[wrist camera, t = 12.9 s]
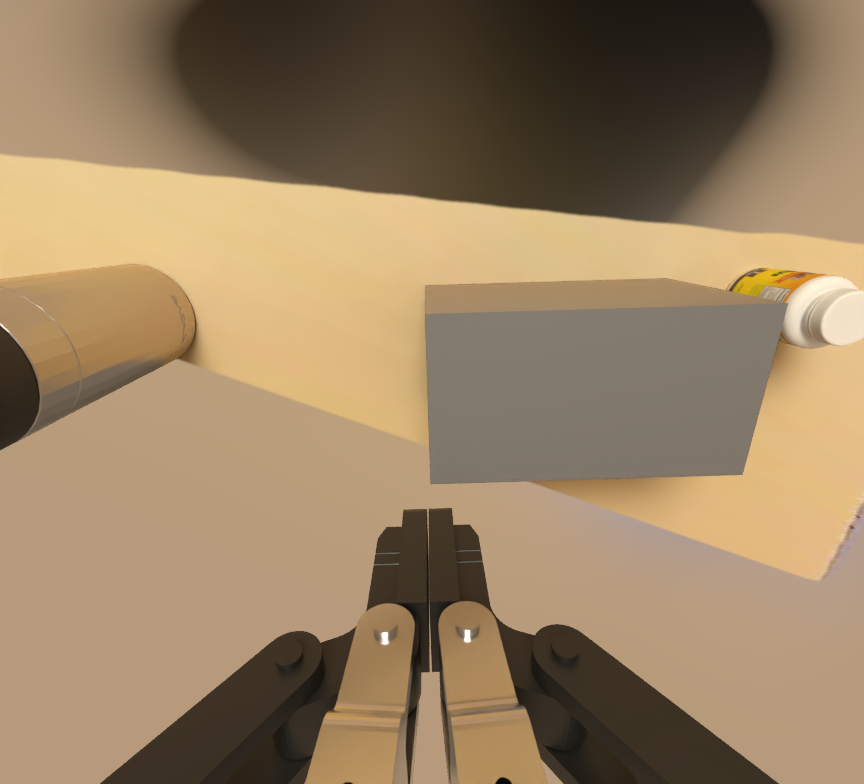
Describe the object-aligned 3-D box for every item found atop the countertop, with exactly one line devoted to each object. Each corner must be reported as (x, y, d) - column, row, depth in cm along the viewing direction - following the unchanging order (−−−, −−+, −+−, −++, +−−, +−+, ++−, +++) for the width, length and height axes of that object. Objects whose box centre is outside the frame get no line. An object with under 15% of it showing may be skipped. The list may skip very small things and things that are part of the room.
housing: (429, 406, 43) (430, 484, 30) (425, 285, 39) (425, 313, 26) (656, 400, 43) (756, 474, 30) (677, 278, 39) (804, 302, 26)
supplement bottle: (791, 276, 39) (910, 291, 30) (759, 334, 41) (861, 366, 31) (737, 259, 38) (840, 269, 29) (707, 318, 40) (794, 346, 31)
